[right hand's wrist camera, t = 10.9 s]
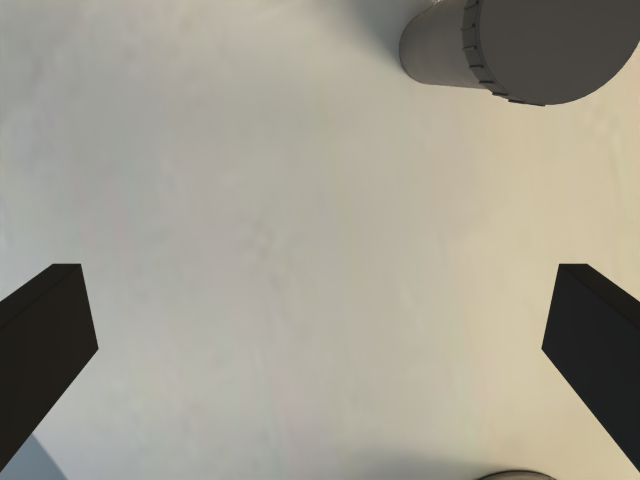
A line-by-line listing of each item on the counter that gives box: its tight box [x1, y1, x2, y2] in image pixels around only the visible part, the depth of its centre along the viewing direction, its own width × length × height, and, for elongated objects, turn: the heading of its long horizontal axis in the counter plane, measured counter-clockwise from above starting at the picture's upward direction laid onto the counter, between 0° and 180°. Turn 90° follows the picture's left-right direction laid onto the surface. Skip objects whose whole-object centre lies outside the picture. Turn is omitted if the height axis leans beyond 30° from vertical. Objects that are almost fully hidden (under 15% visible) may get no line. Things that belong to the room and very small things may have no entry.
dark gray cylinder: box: [399, 0, 487, 89], centre depth 25 cm, size 5×5×19 cm
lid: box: [460, 0, 640, 106], centre depth 17 cm, size 6×6×2 cm
